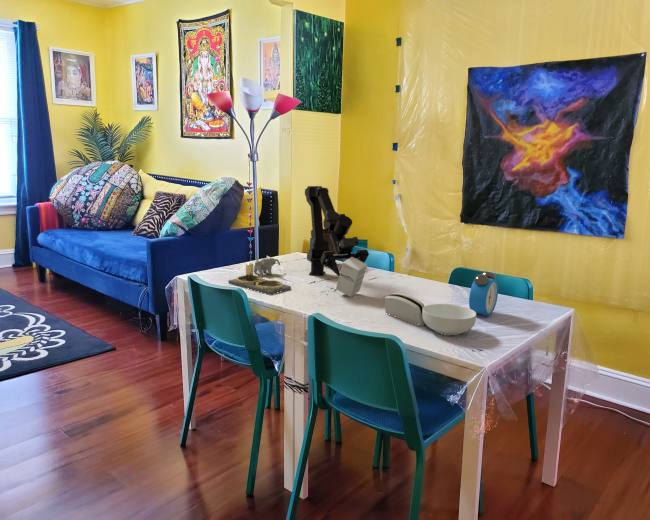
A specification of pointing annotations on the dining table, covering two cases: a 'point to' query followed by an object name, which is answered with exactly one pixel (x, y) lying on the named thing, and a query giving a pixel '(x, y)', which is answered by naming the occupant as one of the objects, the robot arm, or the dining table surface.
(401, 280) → the dining table surface
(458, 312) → the cereal bowl
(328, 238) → the plant pot
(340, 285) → the supplement box
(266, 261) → the gray elephant figurine
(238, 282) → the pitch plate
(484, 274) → the alarm clock
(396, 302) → the napkin holder
